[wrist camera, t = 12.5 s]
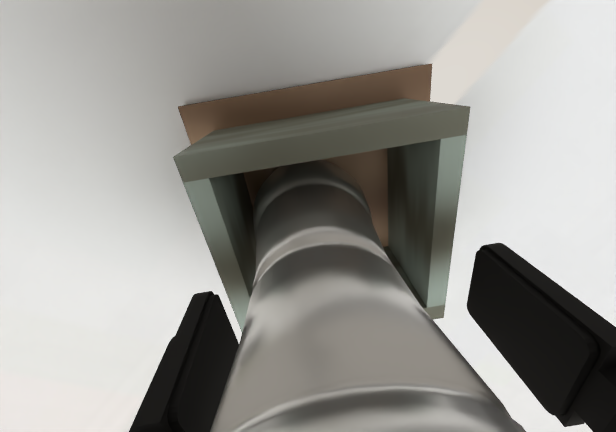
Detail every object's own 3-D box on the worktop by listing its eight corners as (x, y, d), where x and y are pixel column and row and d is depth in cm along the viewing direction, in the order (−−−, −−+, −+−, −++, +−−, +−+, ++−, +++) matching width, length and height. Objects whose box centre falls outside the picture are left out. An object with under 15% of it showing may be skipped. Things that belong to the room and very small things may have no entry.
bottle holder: (184, 105, 15) (112, 121, 9) (423, 64, 15) (519, 52, 9) (246, 287, 22) (230, 370, 15) (414, 259, 21) (466, 331, 15)
